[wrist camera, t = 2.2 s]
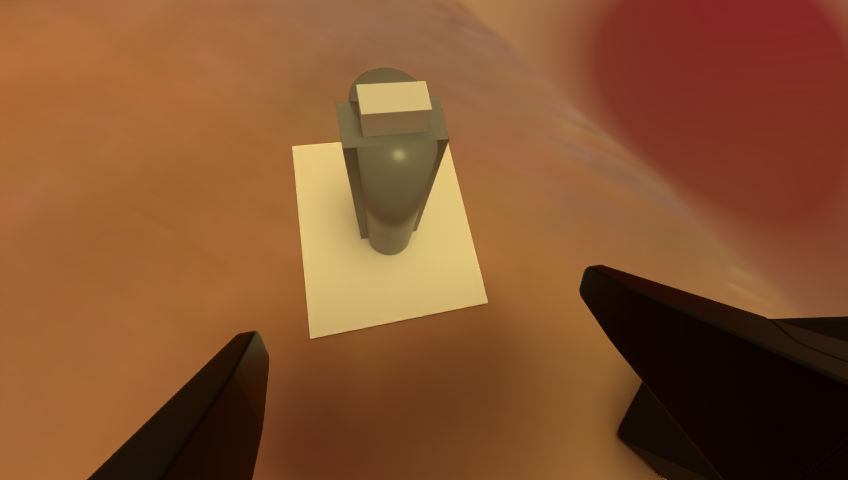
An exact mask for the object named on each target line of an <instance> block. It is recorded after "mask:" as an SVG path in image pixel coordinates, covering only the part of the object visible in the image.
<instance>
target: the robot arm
mask: <svg viewBox="0 0 848 480" xmlns="http://www.w3.org/2000/svg"><path fill="white" fill-rule="evenodd" d="M579 290H580V295H581V297H582V299H583V300H584V302H585V303H586V305H587V306H588V308H589V309H590V311H591V312H592V314H593V315H594V317H595V318H596V320H597V321H598V323H599V324H600V326H601V327H602V329H603V330H604V332H605V333H606V335H607V336H608V338H609V339H610V341H611V342H612V343H613V345H614V346H615V347H616V348H617V350H618V351H619V352H620V353H621V355H622V356H623V357H624V358H625V360H626V361H627V362H628V363H629V365H630V366H631V367H632V368H633V370H634V371H635V372H636V373H637V374H638V376H639V377H640V378H641V379H642V381H643V382H644V383H645V384H646V386H647V387H648V388H649V389H650V391H651V392H652V393H653V394H654V396H655V397H656V398H657V399H658V401H659V402H660V403H661V404H662V406H663V407H664V408H665V409H666V411H667V412H668V413H669V414H670V415H671V417H672V418H673V419H674V420H675V422H676V423H677V424H678V425H679V427H680V428H681V429H682V430H683V432H684V433H685V434H686V435H687V437H688V438H689V439H690V440H691V442H692V443H693V444H694V445H695V447H696V448H697V449H698V450H699V452H700V453H701V454H702V455H703V456H704V458H705V459H706V460H707V461H708V463H709V464H710V465H711V466H712V468H713V469H714V470H715V471H716V473H717V474H718V475H719V476H720V478H721V479H722V480H848V342H845V341H841V340H838V339H834V338H831V337H827V336H824V335H821V334H818V333H814V332H811V331H808V330H805V329H802V328H798V327H795V326H792V325H789V324H786V323H782V322H779V321H776V320H773V319H767V318H766V317H763V316H760V315H757V314H754V313H751V312H748V311H745V310H742V309H738V308H735V307H732V306H729V305H726V304H723V303H720V302H716V301H713V300H710V299H707V298H704V297H701V296H698V295H695V294H691V293H688V292H685V291H682V290H679V289H676V288H673V287H669V286H666V285H663V284H660V283H657V282H654V281H651V280H648V279H644V278H641V277H638V276H635V275H632V274H629V273H626V272H622V271H619V270H616V269H613V268H610V267H607V266H604V265H594V266H589V267H587V268H586V269H585V271H584V274H583V277H582V281H581V285H580V289H579ZM268 370H269V355H268V352H267V350H266V348H265V345H264V343H263V341H262V338H261V336H260V334H259V333H258V332H257V331H250V332H244V333H240V334H238V335H236V336H235V337H234V338H233V339H232V340H231V341H230V342H229V343H228V344H227V345H226V346H225V347H224V348H222V349H221V350H220V351H219V352H218V353H217V354H216V355H215V356H214V357H213V358H212V359H211V360H210V361H209V362H208V363H207V364H206V365H205V366H204V367H203V368H202V369H201V370H200V371H199V372H198V373H197V374H196V375H195V376H194V377H193V378H192V379H190V380H189V381H188V382H187V383H186V384H185V385H184V386H183V387H182V388H181V389H180V390H179V391H178V392H177V393H176V394H175V395H174V396H173V397H172V398H171V399H170V400H169V401H168V402H167V403H166V404H165V405H164V406H163V407H162V408H161V409H160V410H158V411H157V412H156V413H155V414H154V415H153V416H152V417H151V418H150V419H149V420H148V421H147V422H146V423H145V424H144V425H143V426H142V427H141V428H140V429H139V430H138V431H137V432H136V433H135V434H134V435H133V436H132V437H131V438H130V439H129V440H128V441H126V442H125V443H124V444H123V445H122V446H121V447H120V448H119V449H118V450H117V451H116V452H115V453H114V454H113V455H112V456H111V457H110V458H109V459H108V460H107V461H106V462H105V463H104V464H103V465H102V466H101V467H100V468H99V469H98V470H97V471H96V472H95V473H93V474H92V475H91V476H90V477H89V478H88V479H87V480H252V478H253V473H254V468H255V463H256V459H257V454H258V449H259V444H260V440H261V434H262V429H263V421H264V412H265V402H266V391H267V381H268Z"/></svg>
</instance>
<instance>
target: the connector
mask: <svg viewBox="0 0 848 480" xmlns="http://www.w3.org/2000/svg"><path fill="white" fill-rule="evenodd" d="M336 109H337V116H338V123H339V130H340V137H341V144H342V150H343V155H344V160H345V164H346V169H347V174H348V179H349V183H350V188H351V193H352V198H353V202H354V207H355V212H356V217H357V222H358V226H359V231H360V236H361V239H365V238H368V239H369V242H370V244H371V246H372V247H373V248H374V249H375V250H376V251H377V252H379V253H381V254H384V255H395V254H398V253H400V252H402V251H403V250H404V249H405V248H406V247H407V245H408V243H409V240H410V237H411V234H412V232H413V231H417V228H418V225H419V223H420V220H421V217H422V214H423V211H424V209H425V206H426V203H427V200H428V197H429V195H430V192H431V189H432V186H433V183H434V181H435V178H436V175H437V172H438V169H439V167H440V164H441V161H442V158H443V155H444V153H445V150H446V147H447V144H448V141H449V135H448V131H447V127H446V124H445V120H444V116H443V112H442V108H441V104H440V100H439V96H429V94H428V90H427V86H426V82H425V81H417V80H415V79H414V78H413V77H412V76H410V75H408V74H407V73H405V72H402V71H399V70H396V69H390V68H379V69H373V70H370V71H367V72H365V73H363V74H362V75H360V76H359V77H358V78H357V79H356V80H355V81H354V83H353V84H352V86H351V88H350V92H349V101H348V102H336Z"/></svg>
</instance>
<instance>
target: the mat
mask: <svg viewBox="0 0 848 480" xmlns="http://www.w3.org/2000/svg"><path fill="white" fill-rule="evenodd" d="M292 148H293V159H294V169H295V180H296V191H297V202H298V213H299V223H300V234H301V245H302V256H303V266H304V277H305V288H306V299H307V310H308V320H309V331H310V339H313V338H318V337H322V336H327V335H332V334H337V333H342V332H347V331H352V330H357V329H362V328H367V327H372V326H377V325H382V324H387V323H392V322H397V321H402V320H406V319H411V318H416V317H421V316H426V315H431V314H436V313H441V312H446V311H451V310H456V309H461V308H466V307H471V306H476V305H481V304H485V303H488V300H487V296H486V292H485V288H484V284H483V280H482V276H481V272H480V268H479V264H478V260H477V256H476V252H475V248H474V244H473V241H472V237H471V233H470V229H469V225H468V221H467V217H466V213H465V209H464V205H463V201H462V197H461V193H460V189H459V185H458V181H457V177H456V173H455V169H454V165H453V161H452V157H451V153H450V149H449V145H448V144H447V147H446V150H445V153H444V155H443V158H442V161H441V164H440V167H439V169H438V172H437V175H436V178H435V181H434V183H433V186H432V189H431V192H430V195H429V197H428V200H427V203H426V206H425V209H424V211H423V214H422V217H421V220H420V223H419V225H418V228H417V231H413V232H412V234H411V237H410V240H409V243H408V245H407V247H406V248H405V249H404V250H403V251H402V252H400V253H398V254H395V255H384V254H381V253H379V252H377V251H376V250H375V249H374V248H373V247H372V246H371V244H370V242H369V239H368V238H365V239H361V236H360V231H359V226H358V222H357V217H356V212H355V207H354V202H353V198H352V193H351V188H350V183H349V179H348V174H347V169H346V164H345V160H344V155H343V150H342V144H341V142H336V143H325V144H313V145H301V146H292Z"/></svg>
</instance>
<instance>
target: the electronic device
mask: <svg viewBox="0 0 848 480" xmlns="http://www.w3.org/2000/svg"><path fill="white" fill-rule="evenodd" d="M773 320H776V321H779V322H782V323H786V324H789V325H792V326H795V327H798V328H802V329H805V330H808V331H811V332H814V333H818V334H821V335H824V336H827V337H831V338H834V339H838V340H841V341H845V342H848V317H818V318H787V319H773ZM619 432H620V436H621V438H622V439H623V440H624V441H625V442H626V443H627V444H628V445H630V446H631V447H632V448H633V449H634V450H635V451H636V452H637V453H638V454H639V455H641V456H642V457H643V458H644V459H645V460H646V461H647V462H648V463H649V464H650V465H652V466H653V467H654V468H655V469H656V470H657V471H658V472H659V473H660V474H661V475H663V476H664V477H665V478H666V479H667V480H722V479H721V478H720V476H719V475H718V474H717V473H716V471H715V470H714V469H713V468H712V466H711V465H710V464H709V463H708V461H707V460H706V459H705V458H704V456H703V455H702V454H701V453H700V452H699V450H698V449H697V448H696V447H695V445H694V444H693V443H692V442H691V440H690V439H689V438H688V437H687V435H686V434H685V433H684V432H683V430H682V429H681V428H680V427H679V425H678V424H677V423H676V422H675V420H674V419H673V418H672V417H671V415H670V414H669V413H668V412H667V411H666V409H665V408H664V407H663V406H662V404H661V403H660V402H659V401H658V399H657V398H656V397H655V396H654V394H653V393H652V392H651V391H650V389H649V388H648V387H647V386H646V384H645V383H644V382H643V383H642V385H641V387H640V389H639V391H638V393H637V395H636V397H635V399H634V401H633V403H632V404H631V406H630V408H629V410H628V412H627V414H626V416H625V418H624V420H623V422H622V424H621V426H620V430H619Z"/></svg>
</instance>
